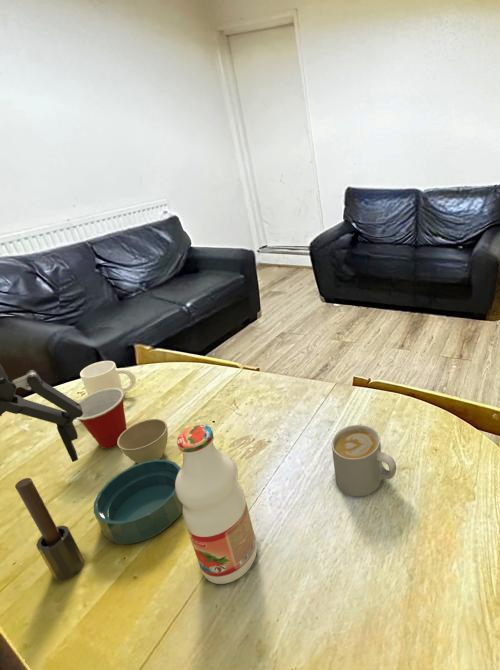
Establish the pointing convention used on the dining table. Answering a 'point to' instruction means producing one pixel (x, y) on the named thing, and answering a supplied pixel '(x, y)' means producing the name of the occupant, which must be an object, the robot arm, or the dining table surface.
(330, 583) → the dining table surface
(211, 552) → the fruit juice
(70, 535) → the utensil pot
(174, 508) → the bowl
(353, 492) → the coffee mug
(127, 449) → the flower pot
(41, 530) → the stick
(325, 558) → the dining table surface
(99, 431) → the plastic cup
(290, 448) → the dining table surface
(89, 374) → the mug
